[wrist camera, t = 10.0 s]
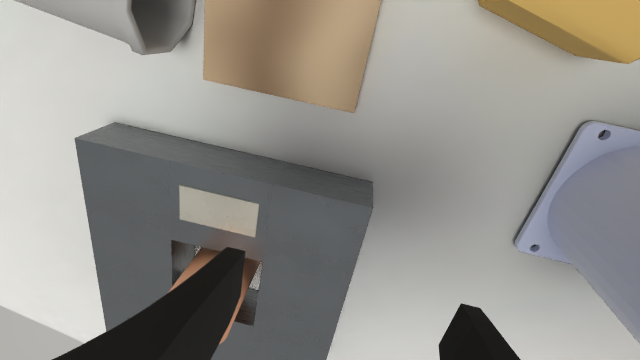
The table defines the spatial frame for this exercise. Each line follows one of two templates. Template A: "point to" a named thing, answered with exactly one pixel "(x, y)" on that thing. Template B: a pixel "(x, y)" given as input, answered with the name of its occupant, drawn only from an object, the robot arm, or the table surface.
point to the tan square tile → (291, 47)
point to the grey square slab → (223, 233)
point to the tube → (128, 20)
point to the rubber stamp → (579, 25)
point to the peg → (204, 258)
